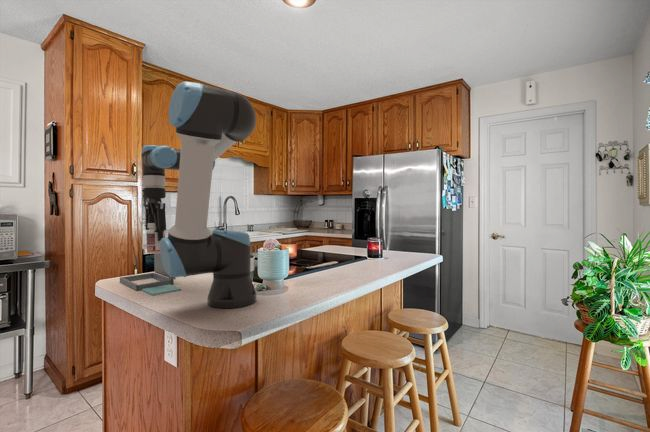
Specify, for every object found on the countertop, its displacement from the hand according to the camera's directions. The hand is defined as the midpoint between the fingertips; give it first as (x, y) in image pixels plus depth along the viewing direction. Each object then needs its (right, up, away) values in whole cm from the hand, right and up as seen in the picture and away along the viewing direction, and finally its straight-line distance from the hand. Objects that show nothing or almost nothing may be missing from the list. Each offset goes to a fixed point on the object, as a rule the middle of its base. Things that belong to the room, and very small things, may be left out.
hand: (156, 249), depth 125 cm
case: (-9, -15, +9) cm, 19 cm away
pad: (+3, -15, -2) cm, 15 cm away
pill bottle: (0, -2, 0) cm, 2 cm away
